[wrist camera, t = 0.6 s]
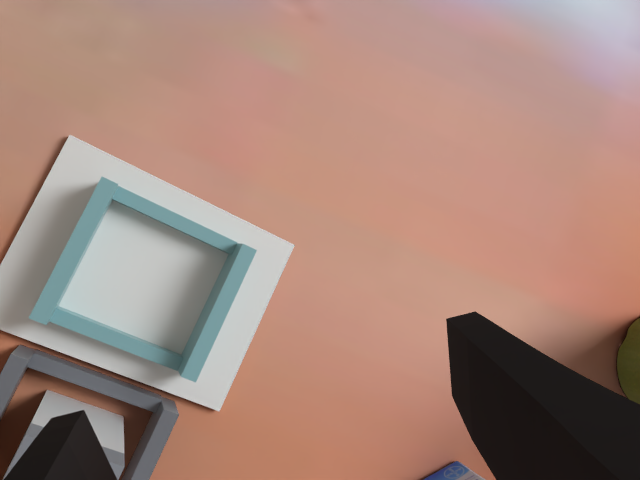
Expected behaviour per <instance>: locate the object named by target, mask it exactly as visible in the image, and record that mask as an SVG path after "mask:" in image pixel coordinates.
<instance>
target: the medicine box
mask: <svg viewBox="0 0 640 480" xmlns="http://www.w3.org/2000/svg"><path fill="white" fill-rule="evenodd" d="M423 480H485V479H484V478H482V477H481V476H479V475H478V474H476V473H475V472H474V471H472V470H471V469H469V468H468V467H466V466H465V465H463V464H462V463H461V462H459V461H456V462H454V463H451V464H450V465H448V466H446V467H444V468H443V469H441V470H439V471H437V472H436V473H434V474H432V475H430V476H429V477H427V478H425V479H423Z"/></svg>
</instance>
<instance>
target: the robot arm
mask: <svg viewBox="0 0 640 480" xmlns="http://www.w3.org/2000/svg"><path fill="white" fill-rule="evenodd" d="M446 320H447V334H448V347H449V360H450V374H451V387H452V397H453V399H454V401H455V403H456V406H457V408H458V410H459V412H460V414H461V417H462V419H463V421H464V423H465V425H466V427H467V430H468V432H469V434H470V436H471V438H472V440H473V442H474V444H475V445H476V447H477V449H478V450H479V452H480V454H481V455H482V457H483V458H484V460H485V462H486V463H487V465H488V467H489V468H490V470H491V472H492V473H493V475H494V476H495V478H496V480H640V404H638V403H636V402H634V401H631V400H629V399H627V398H625V397H623V396H621V395H619V394H617V393H615V392H613V391H611V390H609V389H607V388H605V387H603V386H601V385H599V384H597V383H595V382H593V381H591V380H589V379H587V378H586V377H584V376H582V375H580V374H578V373H576V372H575V371H573V370H571V369H569V368H567V367H565V366H564V365H562V364H560V363H558V362H557V361H555V360H553V359H552V358H550V357H548V356H546V355H545V354H543V353H541V352H540V351H538V350H536V349H535V348H533V347H531V346H530V345H528V344H526V343H525V342H523V341H522V340H520V339H518V338H517V337H515V336H514V335H512V334H510V333H509V332H507V331H506V330H504V329H502V328H501V327H499V326H498V325H496V324H495V323H493V322H491V321H490V320H488V319H487V318H485V317H483V316H482V315H480V314H478V313H477V312H472V313H468V314H464V315H460V316H456V317H452V318H448V319H446ZM4 480H117V478H116V476H115V474H114V471H113V469H112V467H111V465H110V463H109V461H108V459H107V457H106V455H105V453H104V450H103V448H102V446H101V444H100V442H99V440H98V438H97V436H96V434H95V432H94V430H93V427H92V425H91V423H90V421H89V419H88V417H87V415H86V413H85V411H84V410H81V411H77V412H73V413H69V414H65V415H61V416H57V417H53V418H51V419H50V420H49V422H48V423H47V424H46V425H45V427H44V428H43V429H42V430H41V432H40V433H39V434H38V435H37V437H36V438H35V439H34V441H33V442H32V443H31V444H30V446H29V447H28V448H27V450H26V451H25V452H24V454H23V455H22V456H21V458H20V459H19V460H18V462H17V463H16V464H15V465H14V467H13V468H12V469H11V471H10V472H9V473H8V475H7V476H6V477H5V478H4Z"/></svg>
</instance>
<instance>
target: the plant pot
mask: <svg viewBox="0 0 640 480" xmlns="http://www.w3.org/2000/svg"><path fill="white" fill-rule="evenodd" d="M617 372H618V378H619V381H620V385H621V387H622V389H623V391H624V393H625V395H626V396H627V397H628V399H629V400H631V401H634V402H636V403H638V404H640V318H639V319H637V320H636V321H635V322H634V323H633V324H632V325H631V326H630V327H629V328H628V333H627V336H626V338H625V340H624V342H623V343H622V345H621V346H620V348H619V351H618V357H617Z"/></svg>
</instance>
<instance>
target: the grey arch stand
mask: <svg viewBox="0 0 640 480" xmlns="http://www.w3.org/2000/svg"><path fill="white" fill-rule="evenodd" d="M28 367H29V368H32V369H34V370H37V371H40V372H43V373H46V374H48V375H51V376H54V377H57V378H60V379H62V380H65V381H68V382H71V383H74V384H76V385H79V386H82V387H85V388H87V389H90V390H93V391H96V392H99V393H101V394H104V395H107V396H110V397H113V398H115V399H118V400H121V401H124V402H127V403H129V404H132V405H135V406H138V407H140V408H143V409H146V410H149V411H152V412H153V413H152V415H151V417H150V420H149V422H148V424H147V426H146V428H145V430H144V432H143V434H142V437H141V439H140V441H139V443H138V445H137V447H136V449H135V451H134V454H133V456H132V458H131V460H130V462H129V464H128V466H127V468H126V471H125V473H124V475H123V477H122V479H121V480H149V479H150V476H151V474H152V472H153V470H154V468H155V466H156V463H157V461H158V459H159V457H160V455H161V453H162V450H163V448H164V446H165V444H166V442H167V440H168V437H169V435H170V433H171V431H172V429H173V427H174V425H175V422H176V420H177V418H178V416H179V413H178V410H177V407H176V404H175V402H174V401H172V400H169V399H167V398H164V397H161V395H159V394H156V393H153V392H151V391H148V390H145V389H142V388H140V387H137V386H134V385H132V384H129V383H126V382H124V381H121V380H118V379H115V378H113V377H110V376H107V375H105V374H102V373H99V372H96V371H94V370H91V369H88V368H86V367H83V366H80V365H77V364H75V363H72V362H69V361H67V360H64V359H61V358H59V357H56V356H53V355H50V354H48V353H45V352H42V351H40V350H34V349H31V348H28V347H26V346H23V345H19V346H18V347H17V348H16V349H15V350H14V351H13V352H12V353H11V355H10V357H9V358H8V360H7V362H6V364H5V366H4V368H3V370H2V372H1V374H0V421H1V419H2V417H3V415H4V413H5V411H6V409H7V407H8V405H9V403H10V401H11V399H12V397H13V395H14V393H15V391H16V389H17V387H18V385H19V383H20V381H21V379H22V377H23V375H24V373H25V372H26V370H27V368H28Z"/></svg>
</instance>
